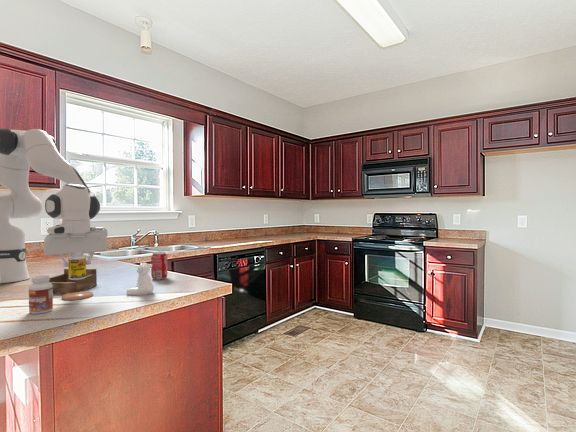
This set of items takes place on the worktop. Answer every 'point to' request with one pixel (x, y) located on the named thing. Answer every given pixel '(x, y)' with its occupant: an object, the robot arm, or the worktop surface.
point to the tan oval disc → (77, 295)
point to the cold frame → (73, 282)
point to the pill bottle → (40, 295)
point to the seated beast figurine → (142, 281)
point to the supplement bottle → (77, 266)
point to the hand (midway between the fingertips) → (77, 265)
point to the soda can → (159, 265)
